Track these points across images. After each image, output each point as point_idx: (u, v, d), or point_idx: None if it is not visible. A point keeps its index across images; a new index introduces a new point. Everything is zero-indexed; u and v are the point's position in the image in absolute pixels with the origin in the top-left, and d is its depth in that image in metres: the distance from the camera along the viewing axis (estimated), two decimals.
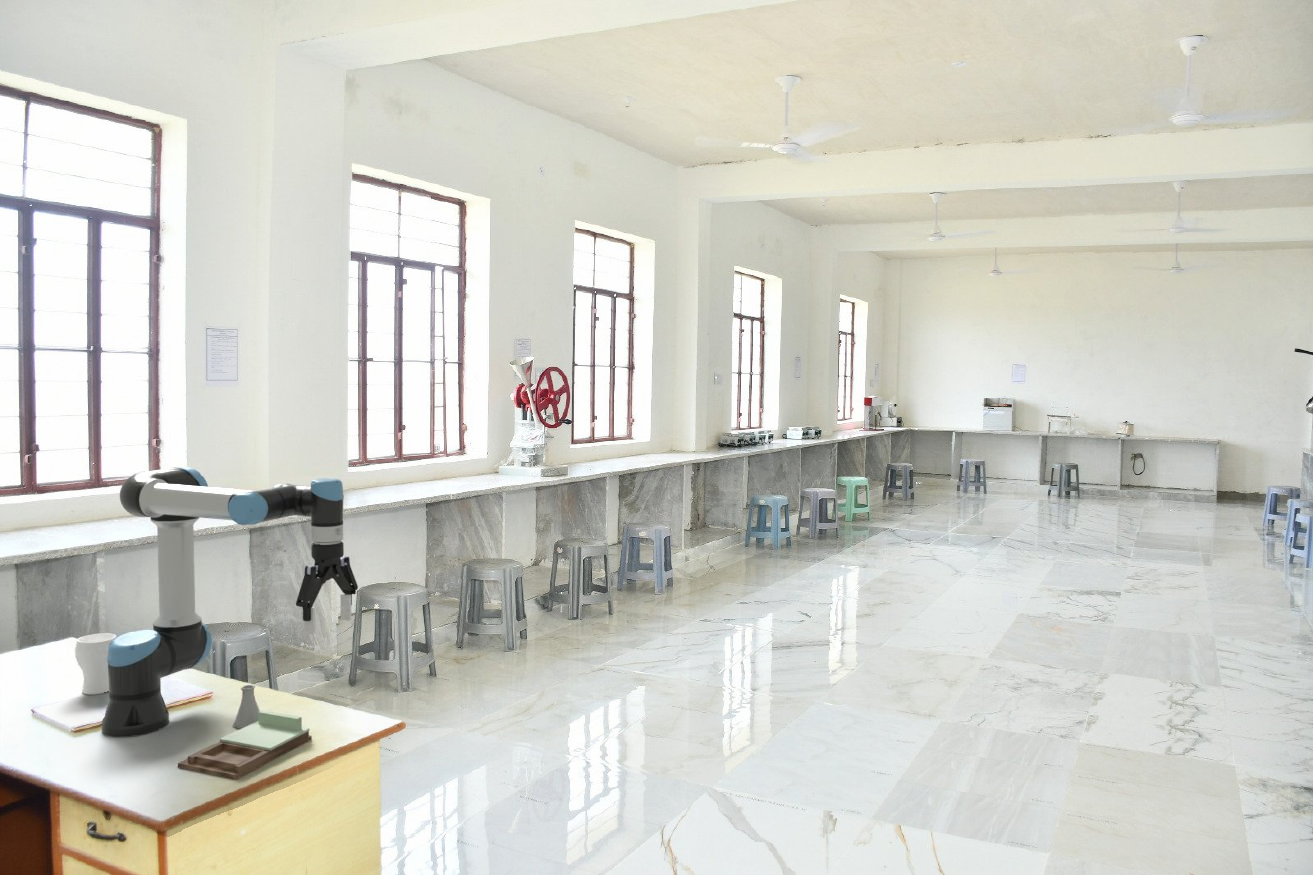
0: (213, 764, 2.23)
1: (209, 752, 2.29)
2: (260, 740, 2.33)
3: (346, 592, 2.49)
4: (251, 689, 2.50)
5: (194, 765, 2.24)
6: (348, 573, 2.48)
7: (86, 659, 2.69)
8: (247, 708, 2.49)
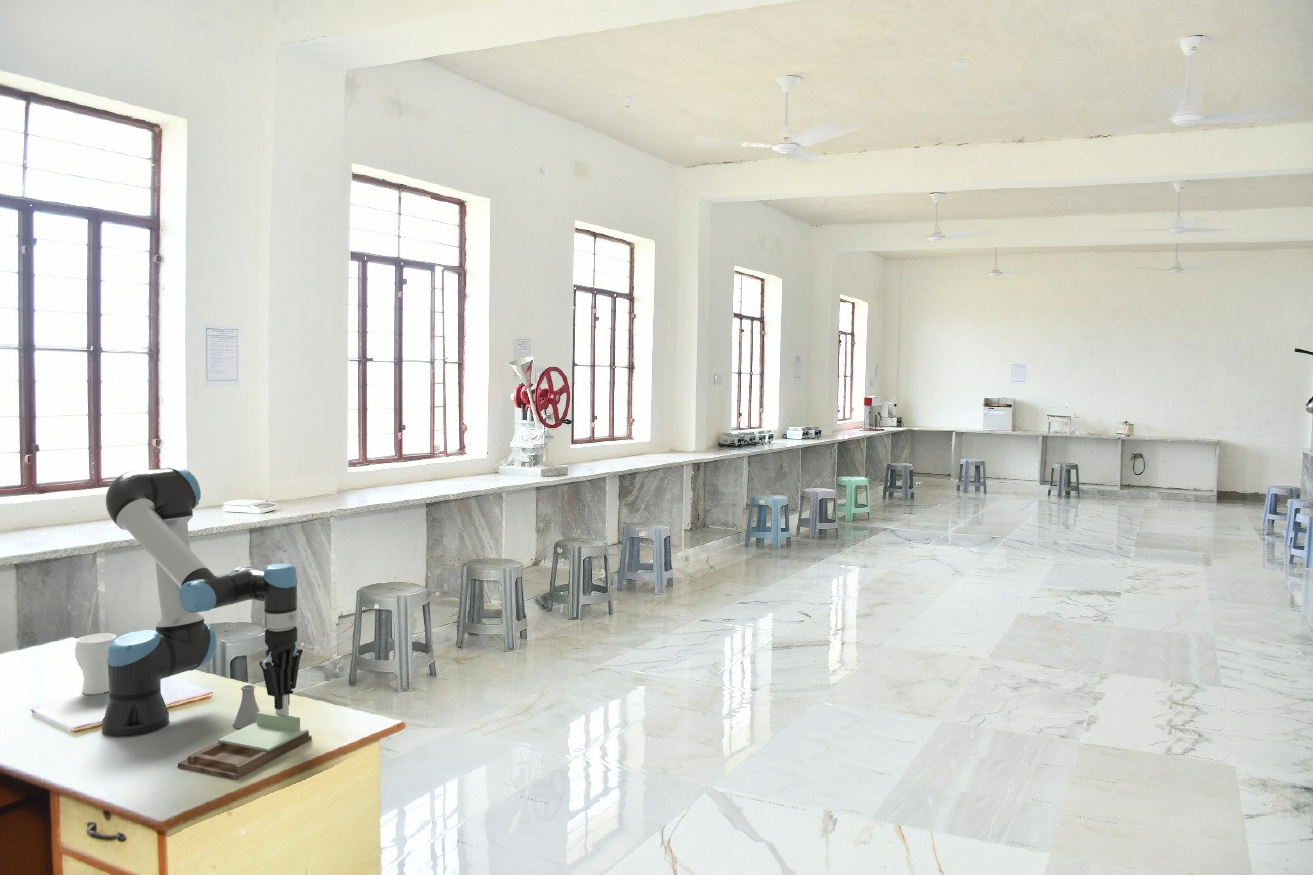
0: (213, 764, 2.23)
1: (209, 752, 2.29)
2: (258, 741, 2.33)
3: (283, 692, 2.43)
4: (251, 689, 2.50)
5: (194, 765, 2.24)
6: (294, 665, 2.45)
7: (86, 659, 2.69)
8: (247, 708, 2.49)
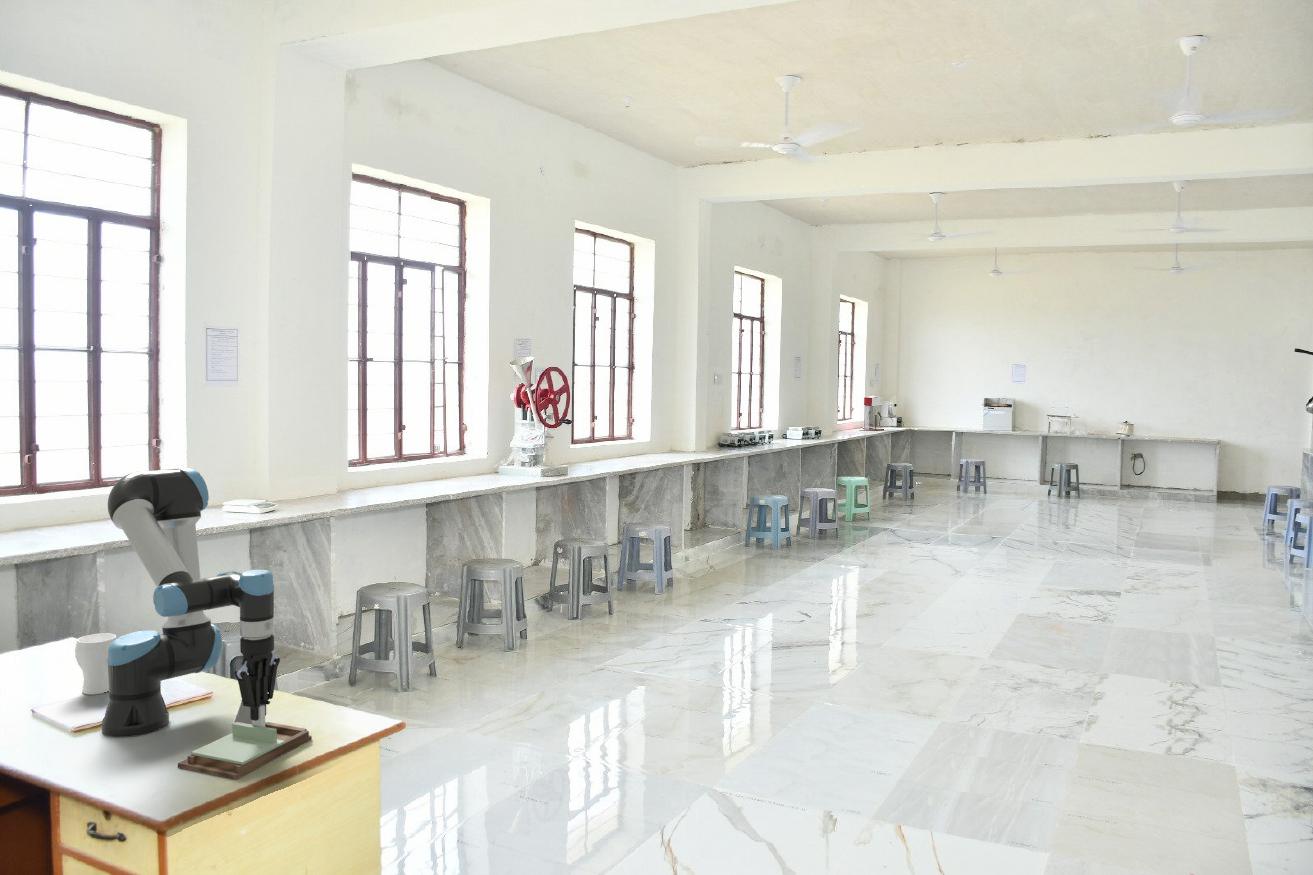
0: (213, 764, 2.23)
1: None
2: (233, 753, 2.25)
3: (260, 702, 2.36)
4: None
5: (194, 765, 2.24)
6: (271, 675, 2.38)
7: (86, 659, 2.69)
8: (247, 708, 2.50)
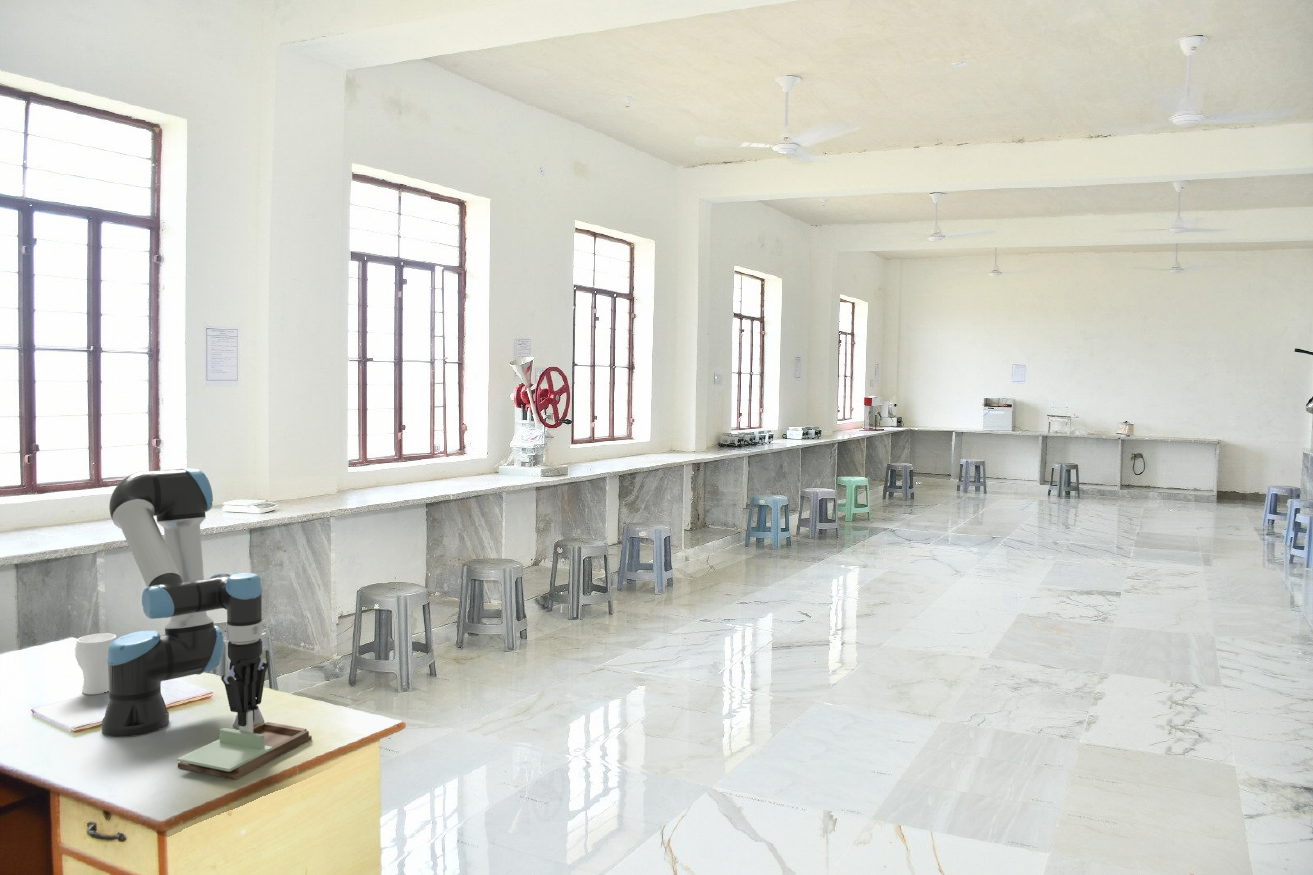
0: None
1: None
2: (219, 760, 2.22)
3: (248, 707, 2.32)
4: None
5: (194, 765, 2.24)
6: (259, 680, 2.34)
7: (86, 659, 2.69)
8: None
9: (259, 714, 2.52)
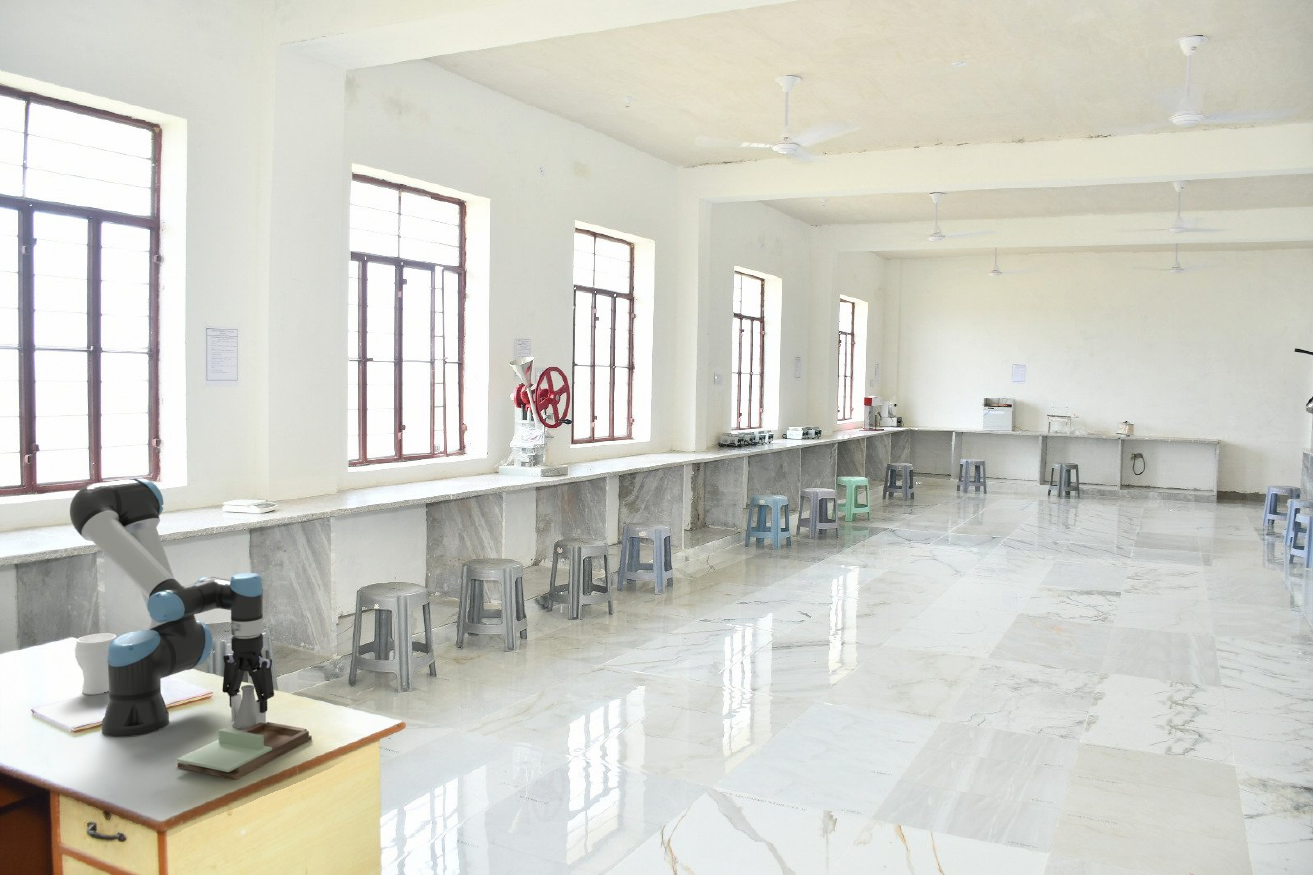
0: None
1: None
2: (218, 760, 2.21)
3: None
4: (251, 689, 2.50)
5: (194, 765, 2.24)
6: None
7: (86, 659, 2.69)
8: (247, 708, 2.49)
9: None
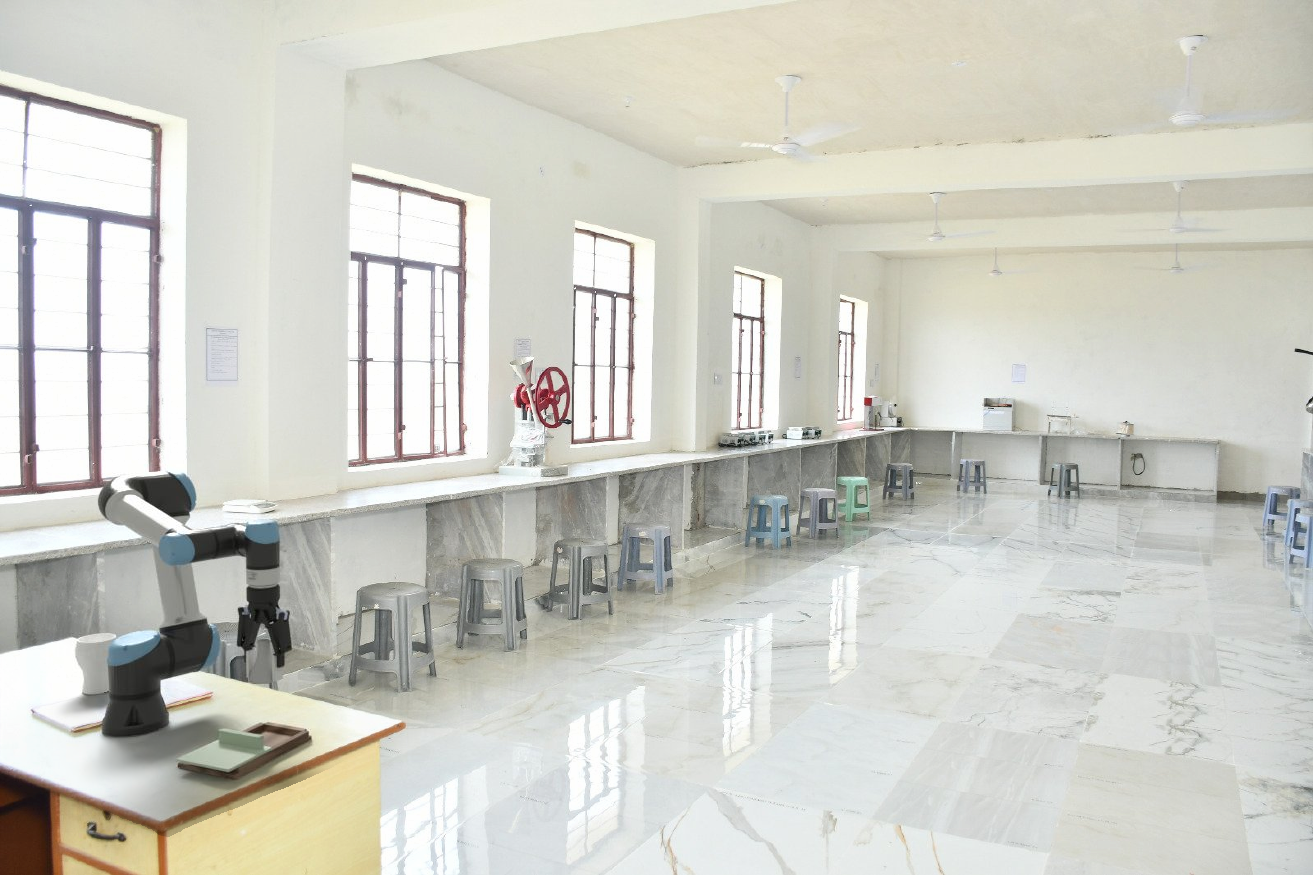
0: None
1: None
2: (218, 760, 2.21)
3: None
4: (267, 642, 2.35)
5: (194, 765, 2.24)
6: None
7: (86, 659, 2.69)
8: (263, 663, 2.35)
9: None
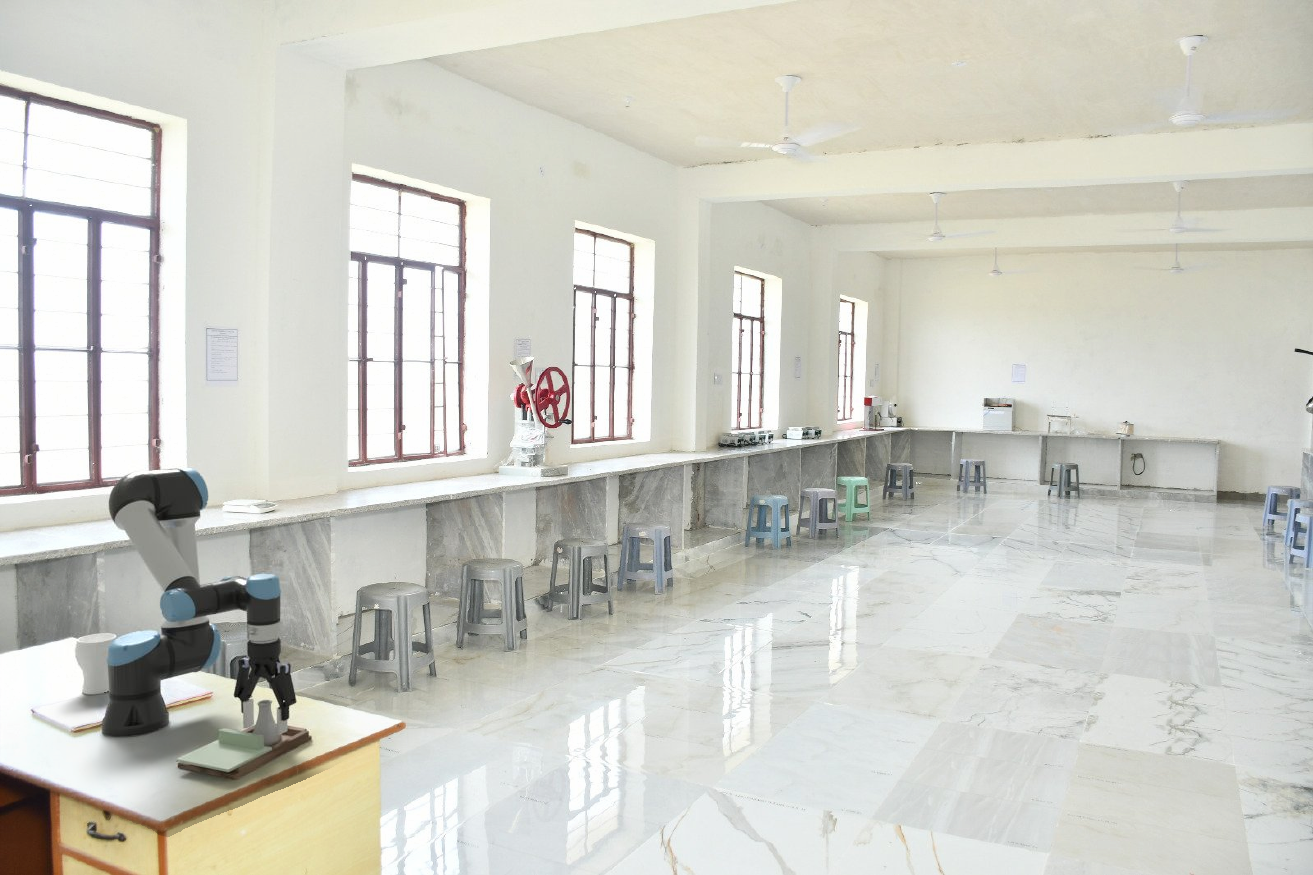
0: None
1: None
2: (218, 760, 2.21)
3: None
4: (268, 704, 2.37)
5: (194, 765, 2.24)
6: None
7: (86, 659, 2.69)
8: (263, 725, 2.36)
9: (276, 731, 2.38)
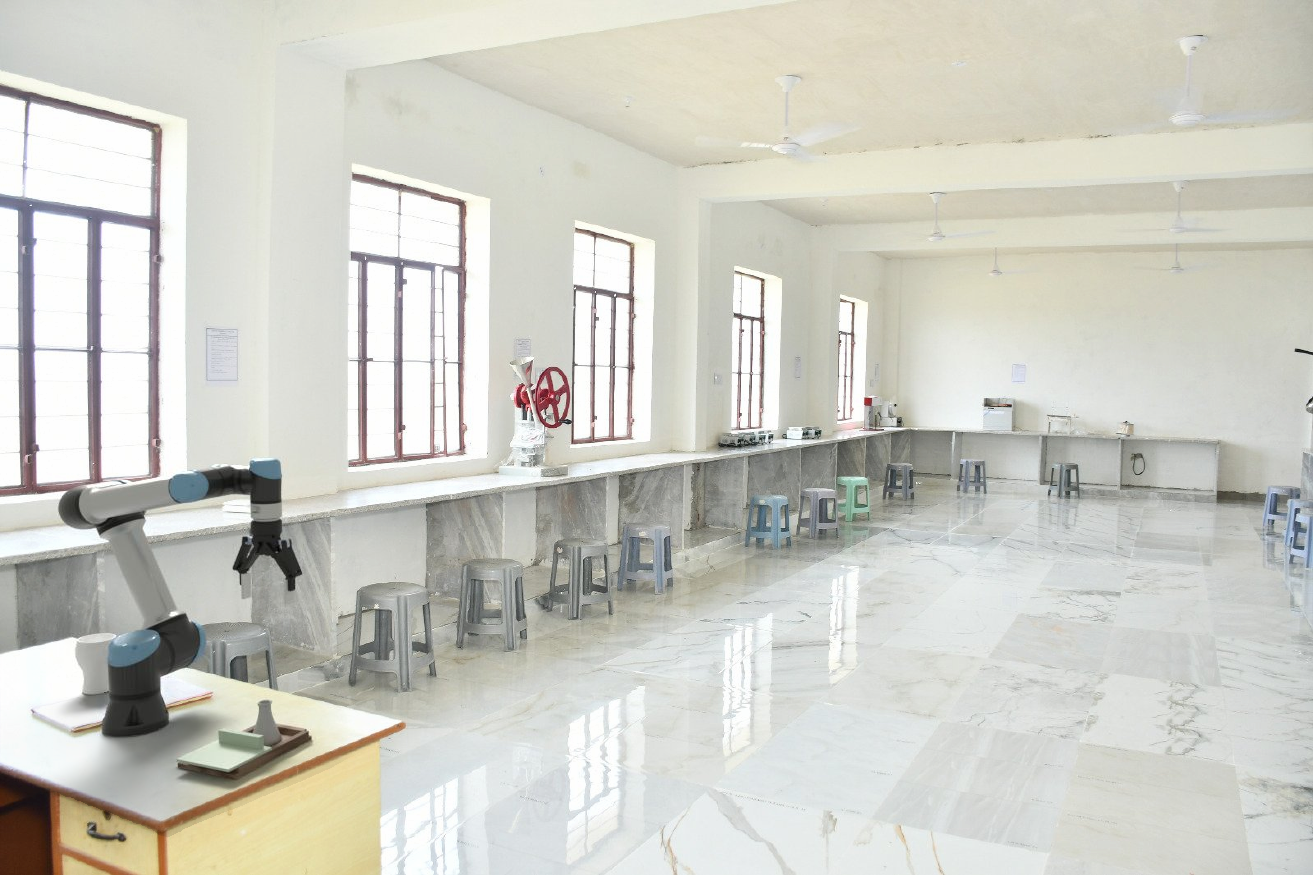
0: None
1: None
2: (218, 760, 2.21)
3: None
4: (268, 704, 2.37)
5: (194, 765, 2.24)
6: None
7: (86, 659, 2.69)
8: (263, 725, 2.36)
9: (276, 731, 2.38)
